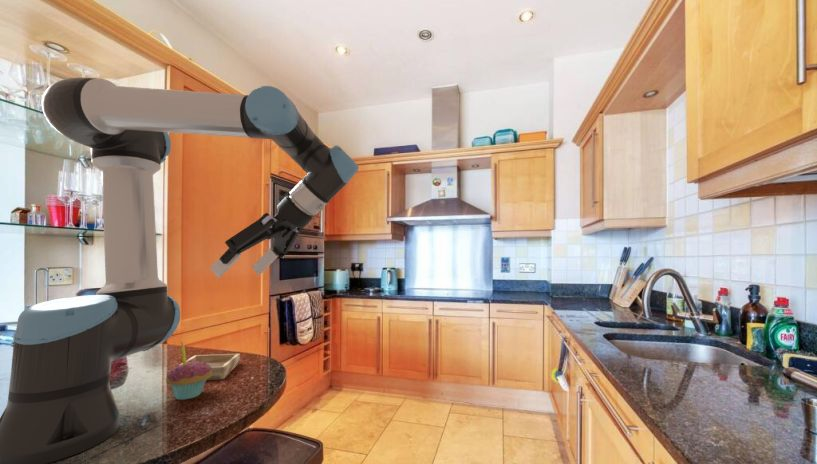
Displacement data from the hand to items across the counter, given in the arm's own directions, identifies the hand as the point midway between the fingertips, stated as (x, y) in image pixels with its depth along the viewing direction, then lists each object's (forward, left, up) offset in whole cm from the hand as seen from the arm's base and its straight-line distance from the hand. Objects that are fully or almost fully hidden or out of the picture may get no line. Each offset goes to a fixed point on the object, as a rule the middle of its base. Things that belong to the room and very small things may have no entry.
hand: (237, 271), depth 73 cm
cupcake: (+3, +10, -28) cm, 30 cm away
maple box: (+18, +12, -28) cm, 35 cm away
